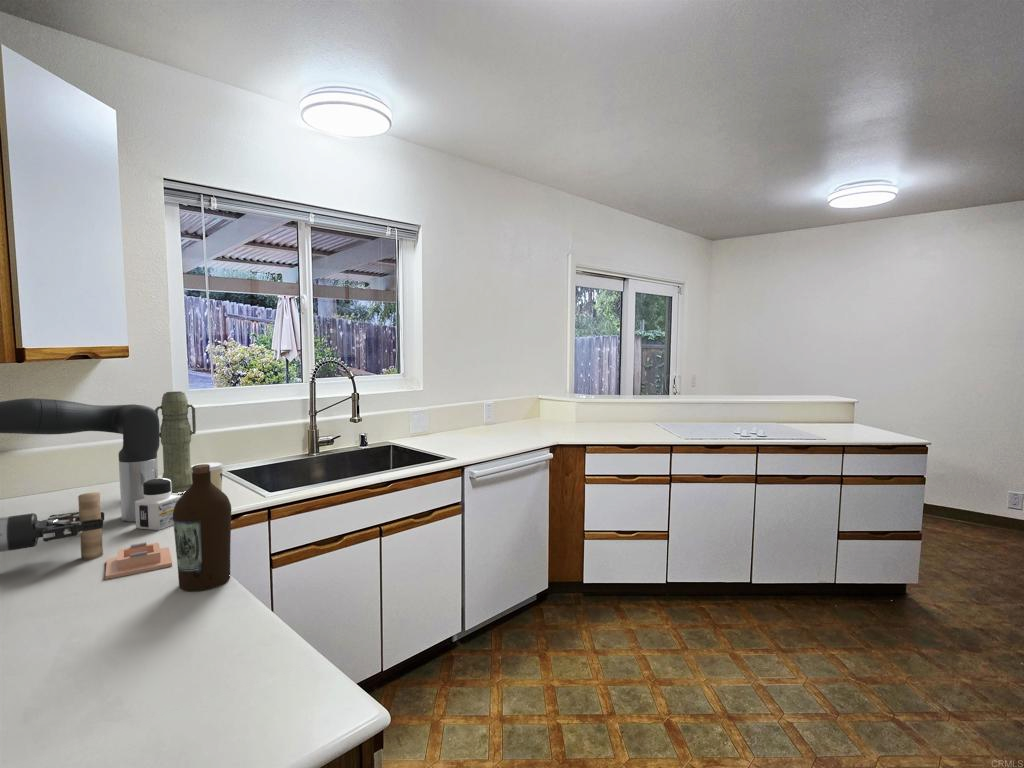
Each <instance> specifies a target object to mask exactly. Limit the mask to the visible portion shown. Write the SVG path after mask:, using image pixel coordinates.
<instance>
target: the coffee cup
mask: <svg viewBox="0 0 1024 768" xmlns="http://www.w3.org/2000/svg"><path fill="white" fill-rule="evenodd" d="M201 464H208V465H210V468H209V470H210V471H211V483H212V484H213V485H215V486H216V487H217V488H218V489H220V490H221V491H222V490H223V489H222V488H223V468H224V466H223V463H222V462H216V461H214V462H211V461H210V462H201V463H196V464H193V465H190V473H191V483H193V482H192V473H193V470H192V467H193V466H195V465H201ZM222 492H223V491H222Z"/></svg>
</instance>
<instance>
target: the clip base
mask: <svg viewBox="0 0 1024 768" xmlns="http://www.w3.org/2000/svg"><path fill="white" fill-rule="evenodd" d="M169 547H170V546H166V547H162V548H161V547H160V543H159V541H158V542H154V543H148V544H147V542H146V541H145V542H141V543H134V544H130V547H125V548H121V549H117V554H116V556H112V557H107V558H106V564H105V565H106V566H105V580H110V579H109V578H111V579H115V578H114V577H116V578H120V576H121V577H126V576H131V575H135V574H139V573H145V572H149V571H155V570H159V569H164V568H165V569H166V568H169V566H170V567H173V560H172V556H171V552H170V548H169ZM125 575H126V576H125Z"/></svg>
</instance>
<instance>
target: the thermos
mask: <svg viewBox="0 0 1024 768" xmlns="http://www.w3.org/2000/svg"><path fill="white" fill-rule="evenodd" d="M188 402H189V401H188V398H187V396H186V393H185V392H183V391H166V392H164V393H163V396H162V397H161V402H160V403H161V404H160V405H159V406H157V407H156V408H155V409H154V410H155V411H156V413H157V415H158V413H159V410H161V416H162V419H161V425H160V443H161V445H162V460H163V464H162V465H163V474H162V477H161V478H166V479H170V480H171V489H172V493H178V492H184V491H187V490H188V489H189V488H190V487H191V485H192V483H191V473H190V468H191V447H190V445H191V444H190V443H191V442H192V436H193V435H195V434H196V430H197V428H196V425H197V424H196V408H195V407H194V406H193V404H189V403H188ZM189 408H191V418H192V419H191V421H192V422H191V423H192V424H190V422H189V417H188V414H189ZM158 416H159V415H158ZM191 425H192V430H191Z"/></svg>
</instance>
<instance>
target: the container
mask: <svg viewBox="0 0 1024 768" xmlns="http://www.w3.org/2000/svg"><path fill="white" fill-rule="evenodd" d="M143 493H144V497H145V498H144V499H141V500H138V501H135V516H136V521H135V528H136V529H138V528H139V530H141V529H142V530H150V531H151V530H154V531H160V530H163V529H167V528H168V527H171V526H174V525H173V520H172V518H173V511H174V507H175V504H176V503H177V501H178V500H179V499H180V497H181V496H180V495H170V494H172V489H171V480H170V479H166V478H162V477H160V478H159V477H158V478H157V479H151V480H148V481H146V482H144V484H143Z"/></svg>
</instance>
